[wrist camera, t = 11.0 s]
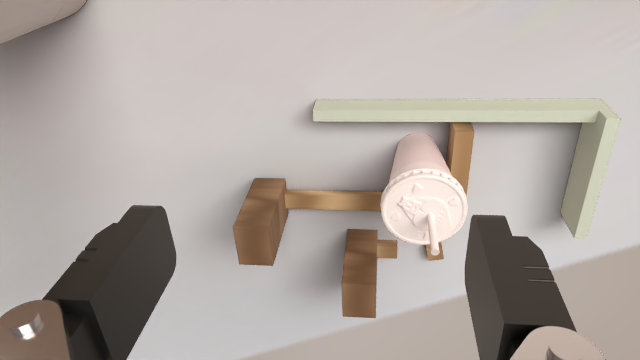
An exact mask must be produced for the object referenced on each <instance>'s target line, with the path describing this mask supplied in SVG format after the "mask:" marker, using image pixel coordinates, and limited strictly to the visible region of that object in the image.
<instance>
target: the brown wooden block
mask: <svg viewBox="0 0 640 360" xmlns="http://www.w3.org/2000/svg"><path fill="white" fill-rule="evenodd" d="M438 245H439V252H440V253H439V254H438V255H436V256H435V255H432V254H431V248H430V244H428V245H426V250H427V255H428V260H429V261H431V260H439V259H444V257H443V251H442V245H441V242H438ZM377 258H397V241H393V240H377V230H357V229H348V231H347V240H346V249H345V258H344V267H343V276H342V310H343V316H345V317H364V318H376V280H377Z"/></svg>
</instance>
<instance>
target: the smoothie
mask: <svg viewBox="0 0 640 360" xmlns="http://www.w3.org/2000/svg"><path fill="white" fill-rule="evenodd" d="M380 207H381V214H382V219H383V222H384V224H385V226H386V227H387V229H388V230H389V231H390V232H391V233H392V234H393V235H394V236H396V237H397V238H399V239H401V240H403V241H405V242H408V243H412V244H418V245H428V244H430V248H431V254H432V255H435V256H436V255H438V254H439V253H440V252H439V245H438V242H441V241H444V240H446V239H448V238H450V237H451V236H453V235H454V234H455V233H456V232H457V231H458V230H459V229H460V228H461V227H462V225H463V224H464V222H465V219H466V216H467V201H466V194H465V192H464V190H463V187H462V186H461V185H460V183H459V182H458V181H457V180H456V179H455V178H453V176H452V174H451V172H450V170H449V168H448V166H447V164H446V162H445V160H444V158H443V156H442V154H441V152H440V150H439V148H438V146H437V144H436V142H435V141H434V140H433V139H432V138H431V137H430V136H428V135H426V134H422V133H414V134H410V135H408V136H406V137H404V138H403V139H402V140H401V141H400V142H399V144H398V146H397V149H396V154H395V158H394V163H393V167H392V171H391V176H390V180H389V184H388V185H387V186H386V188H385V190H384V192H383V194H382V196H381V203H380Z"/></svg>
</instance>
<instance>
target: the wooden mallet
mask: <svg viewBox="0 0 640 360" xmlns="http://www.w3.org/2000/svg"><path fill="white" fill-rule="evenodd" d="M473 138H474V130H473V127H472V124H471V122H450V131H449V141H448V152H447V162H446V164H447V166H448V168H449V170H450V172H451V174H452V176H453V178H455V179H456V180H457V181H458V182H459V183H460V185H461V186H462V187H463V190H464V192H465V194H467V186H468V178H469V170H470V162H471V154H472V146H473ZM382 194H383V192H365V191H317V190H286V182H285V179H266V178H255V179H254V181H253V183H252V186H251V188H250V190H249V192H248V195H247V197H246V199H245V201H244V204H243V206H242V208H241V210H240V213H239V215H238V217H237V219H236V221H235V224H234V226H233V230H234V236H235V242H236V248H237V254H238V260H239V264H244V265H269V266H273V264H274V260H275V257H276V254H277V250H278V247H279V244H280V240H281V237H282V233H283V230H284V227H285V223H286V220H287V217H288V208H291V209H330V210H369V211H381V207H380V203H381V196H382Z"/></svg>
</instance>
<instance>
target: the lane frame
mask: <svg viewBox="0 0 640 360" xmlns="http://www.w3.org/2000/svg"><path fill="white" fill-rule="evenodd" d="M620 120H621V118H620V117H619V116H618V115H617V114H616V113H615V112H614V111H613V110H612V109H611V108H610V107H609V106H608V105H607V104H606V103H605V102H604V101H603V100H602V99H316V102H315V105H314V108H313V121H329V122H582V125H581V130H580V134H579V138H578V142H577V146H576V150H575V154H574V158H573V162H572V166H571V171H570V175H569V179H568V183H567V187H566V191H565V195H564V199H563V203H562V207H561V211H560V213H561V215H562V217H563V218H564V220H565V222H566V224H567V226H568V228H569V230H570V232H571V234H572V235H573V237H574V239H586V238H587V235H588V231H589V228H590V224H591V221H592V217H593V214H594V211H595V207H596V204H597V200H598V197H599V193H600V190H601V186H602V183H603V179H604V176H605V172H606V169H607V165H608V162H609V158H610V155H611V151H612V148H613V144H614V141H615V137H616V134H617V130H618V127H619V123H620Z"/></svg>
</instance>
